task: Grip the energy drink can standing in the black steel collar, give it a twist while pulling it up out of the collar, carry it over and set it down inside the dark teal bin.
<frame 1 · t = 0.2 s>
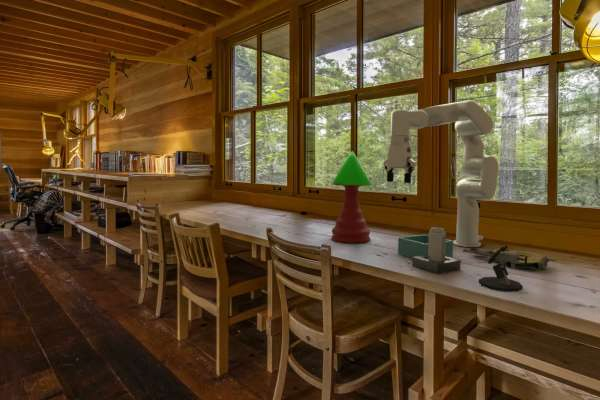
hand: (398, 182, 160), 31 cm above the table, tool pointing down, fingers open, 9 cm apart
table lamp: (350, 239, 197), on the table
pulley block: (507, 263, 153), on the table
teal bin: (424, 255, 164), on the table
steel collar: (435, 267, 145), on the table
energy drink can: (435, 268, 145), resting in steel collar
gun turret: (490, 283, 127), on the table
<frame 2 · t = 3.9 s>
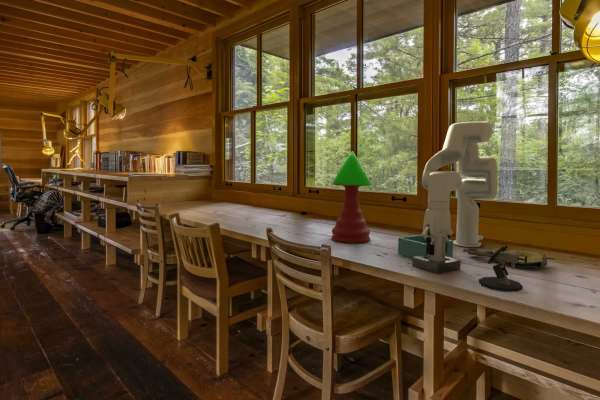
hand: (436, 253, 144), 6 cm above the table, tool pointing down, fingers closed on energy drink can, 6 cm apart
energy drink can: (435, 268, 145), resting in steel collar, touching gripper
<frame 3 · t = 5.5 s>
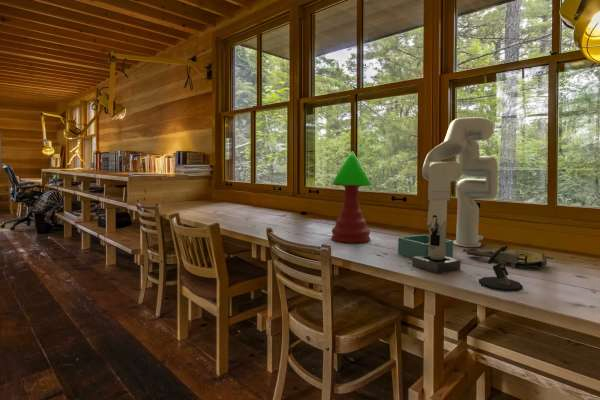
hand: (437, 243, 144), 9 cm above the table, tool pointing down, fingers closed on energy drink can, 6 cm apart
energy drink can: (436, 258, 145), point 3 cm above the table, touching gripper
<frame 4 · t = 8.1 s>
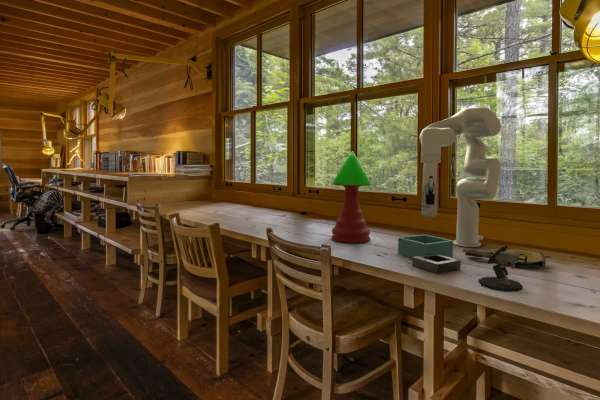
hand: (429, 203, 158), 23 cm above the table, tool pointing down, fingers closed on energy drink can, 6 cm apart
energy drink can: (429, 217, 158), point 17 cm above the table, touching gripper
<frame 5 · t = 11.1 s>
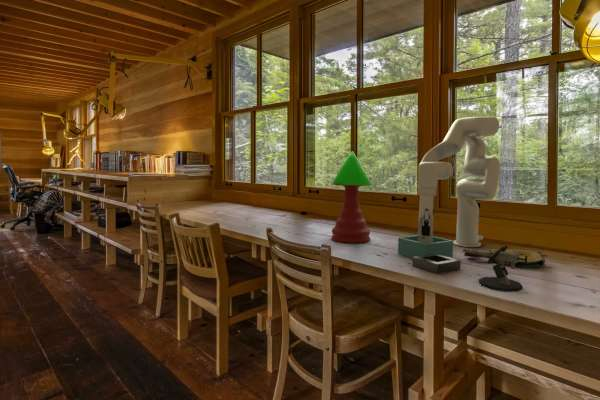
hand: (425, 233, 163), 9 cm above the table, tool pointing down, fingers closed on energy drink can, 6 cm apart
energy drink can: (424, 247, 164), point 3 cm above the table, touching gripper
when the fingers open (8 cm above the table, at t = 12.2 s): energy drink can drops 2 cm, resting on teal bin.
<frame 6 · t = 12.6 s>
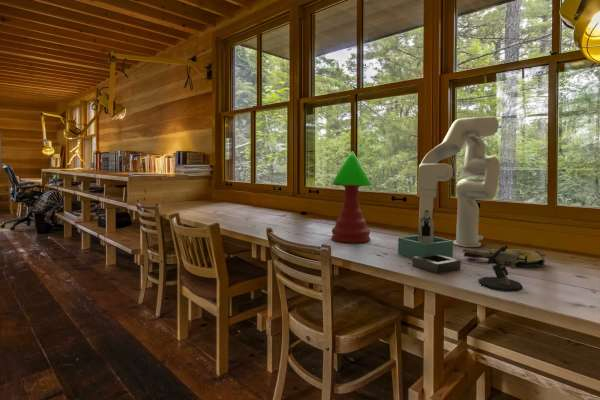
hand: (425, 233, 163), 9 cm above the table, tool pointing down, fingers open, 9 cm apart
energy drink can: (425, 253, 164), point 1 cm above the table, touching teal bin
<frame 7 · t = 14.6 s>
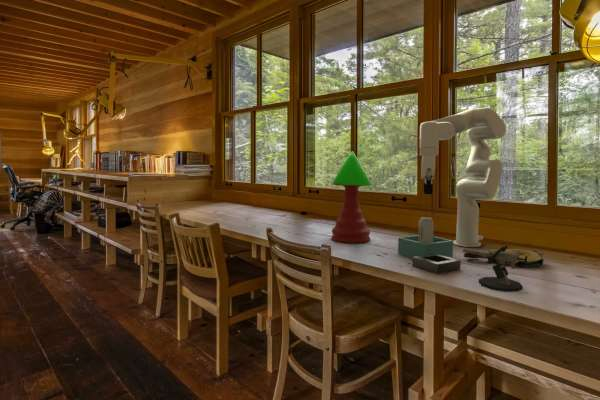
hand: (427, 193, 162), 26 cm above the table, tool pointing down, fingers open, 9 cm apart
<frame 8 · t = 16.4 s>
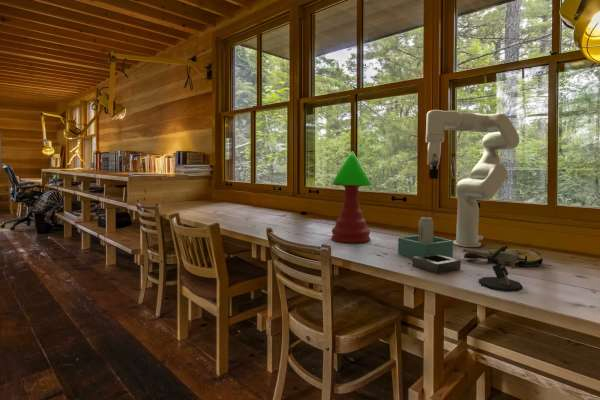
hand: (433, 178, 171), 32 cm above the table, tool pointing down, fingers open, 9 cm apart
at the end: energy drink can inside the target area on the teal bin (0.2 cm from its centre), point 0.8 cm above the teal bin's base; the gripper is holding nothing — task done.
